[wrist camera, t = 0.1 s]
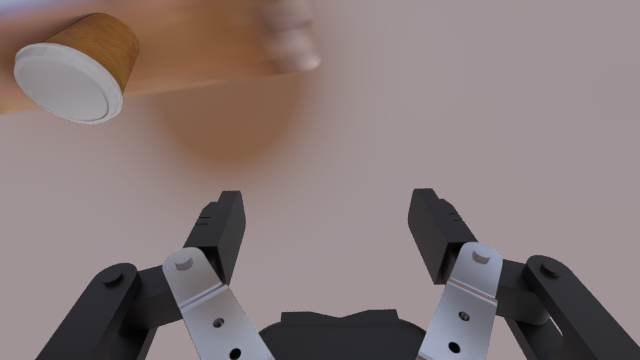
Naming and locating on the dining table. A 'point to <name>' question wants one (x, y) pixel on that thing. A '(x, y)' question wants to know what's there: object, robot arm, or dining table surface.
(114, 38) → the disposable coffee cup
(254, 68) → the dining table surface
